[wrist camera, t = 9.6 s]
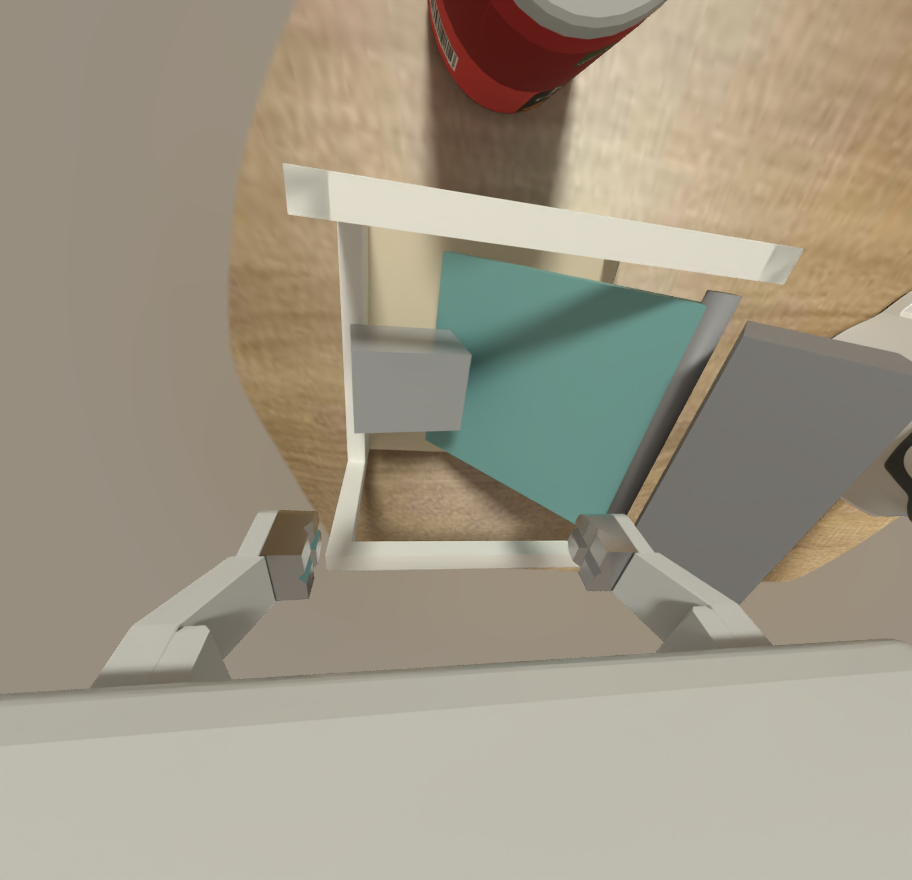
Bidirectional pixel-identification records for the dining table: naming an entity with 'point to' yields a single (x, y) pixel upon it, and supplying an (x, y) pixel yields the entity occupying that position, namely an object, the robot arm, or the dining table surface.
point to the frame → (416, 304)
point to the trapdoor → (663, 412)
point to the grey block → (407, 379)
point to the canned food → (527, 44)
